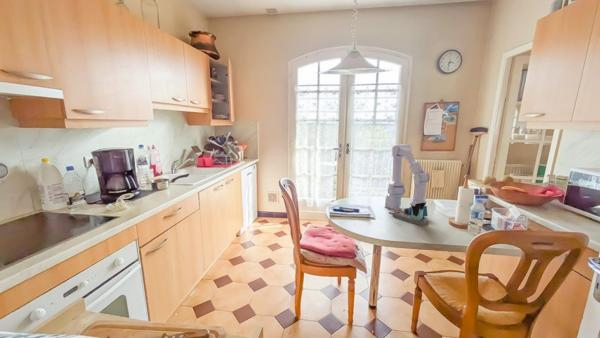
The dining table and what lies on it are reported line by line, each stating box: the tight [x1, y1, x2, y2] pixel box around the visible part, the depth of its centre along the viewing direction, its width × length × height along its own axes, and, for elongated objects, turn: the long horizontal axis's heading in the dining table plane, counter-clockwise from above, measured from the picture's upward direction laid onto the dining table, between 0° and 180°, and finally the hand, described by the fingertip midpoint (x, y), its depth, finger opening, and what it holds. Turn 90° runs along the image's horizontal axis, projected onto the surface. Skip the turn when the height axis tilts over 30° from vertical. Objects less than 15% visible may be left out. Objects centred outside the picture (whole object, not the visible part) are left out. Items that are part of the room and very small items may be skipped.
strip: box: [388, 210, 429, 227], centre depth 148 cm, size 22×7×3 cm, turn 41°
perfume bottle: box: [403, 205, 428, 217], centre depth 150 cm, size 6×6×12 cm
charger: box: [411, 209, 424, 221], centre depth 143 cm, size 5×4×7 cm
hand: (417, 214), depth 143 cm, fingers closed on charger, 4 cm apart
